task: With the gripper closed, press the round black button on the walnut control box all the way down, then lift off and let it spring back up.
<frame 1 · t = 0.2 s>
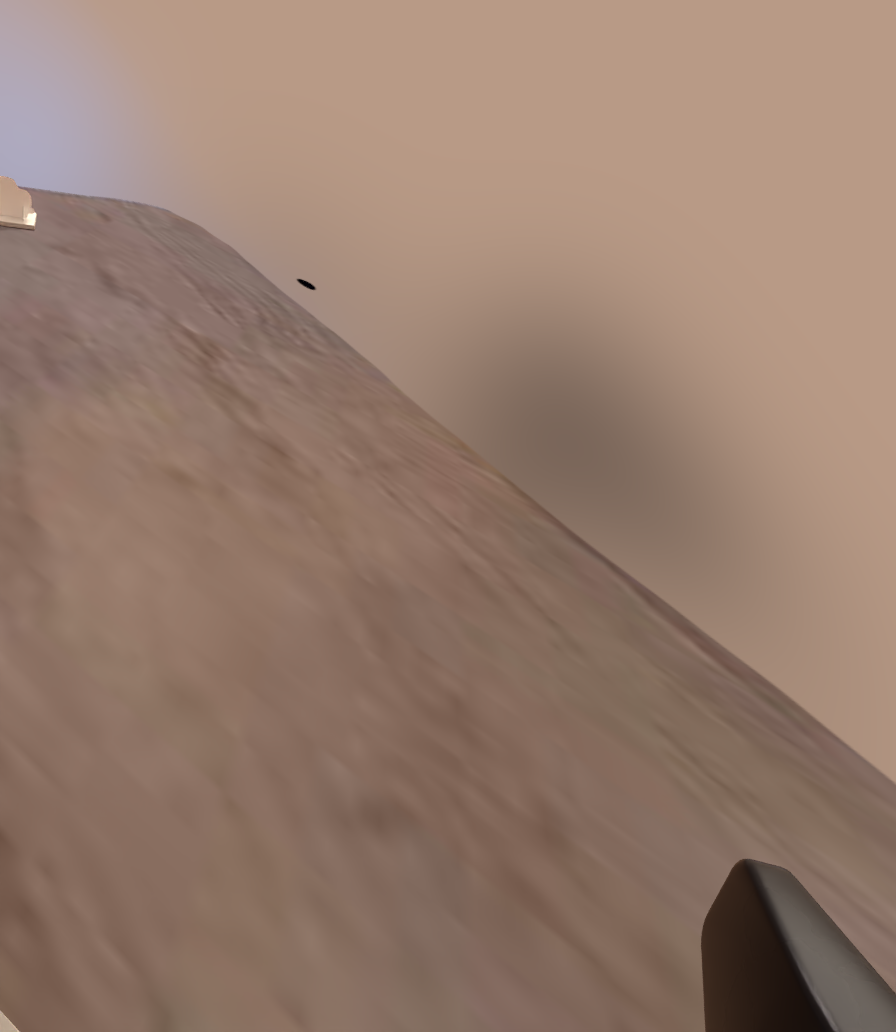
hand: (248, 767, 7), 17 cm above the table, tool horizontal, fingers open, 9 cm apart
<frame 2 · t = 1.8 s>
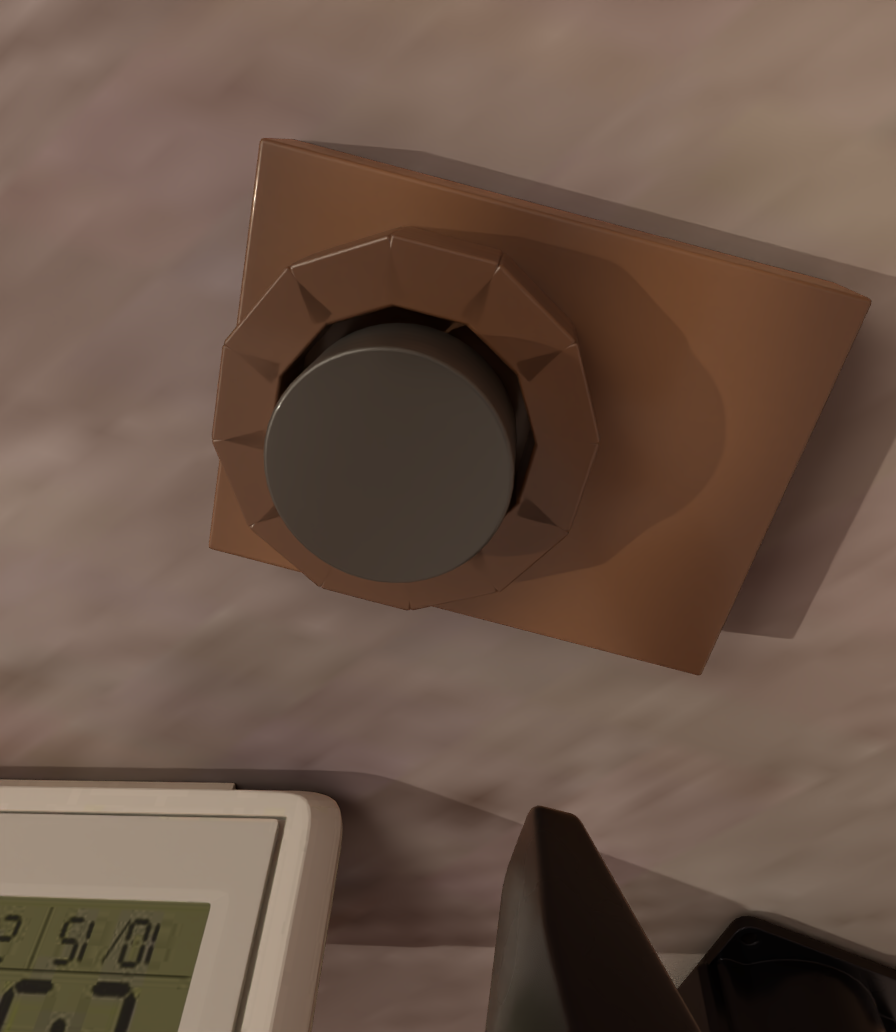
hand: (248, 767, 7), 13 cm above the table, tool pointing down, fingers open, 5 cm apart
digital clock: (119, 827, 26), on the table
button box: (508, 408, 19), on the table
button: (395, 453, 15), point 5 cm above the table, slide at 0.1 cm
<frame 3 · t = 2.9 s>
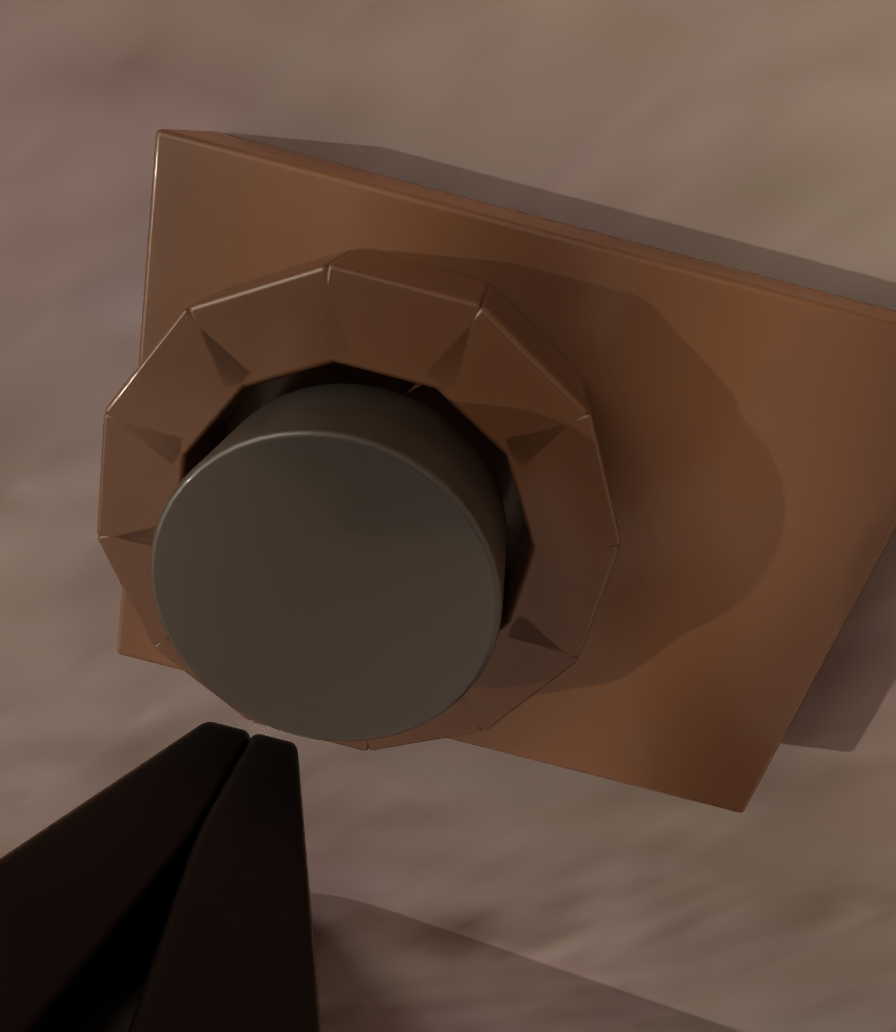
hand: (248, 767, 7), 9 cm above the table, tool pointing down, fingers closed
button box: (498, 473, 15), on the table
button: (340, 562, 11), point 5 cm above the table, slide at 0.1 cm
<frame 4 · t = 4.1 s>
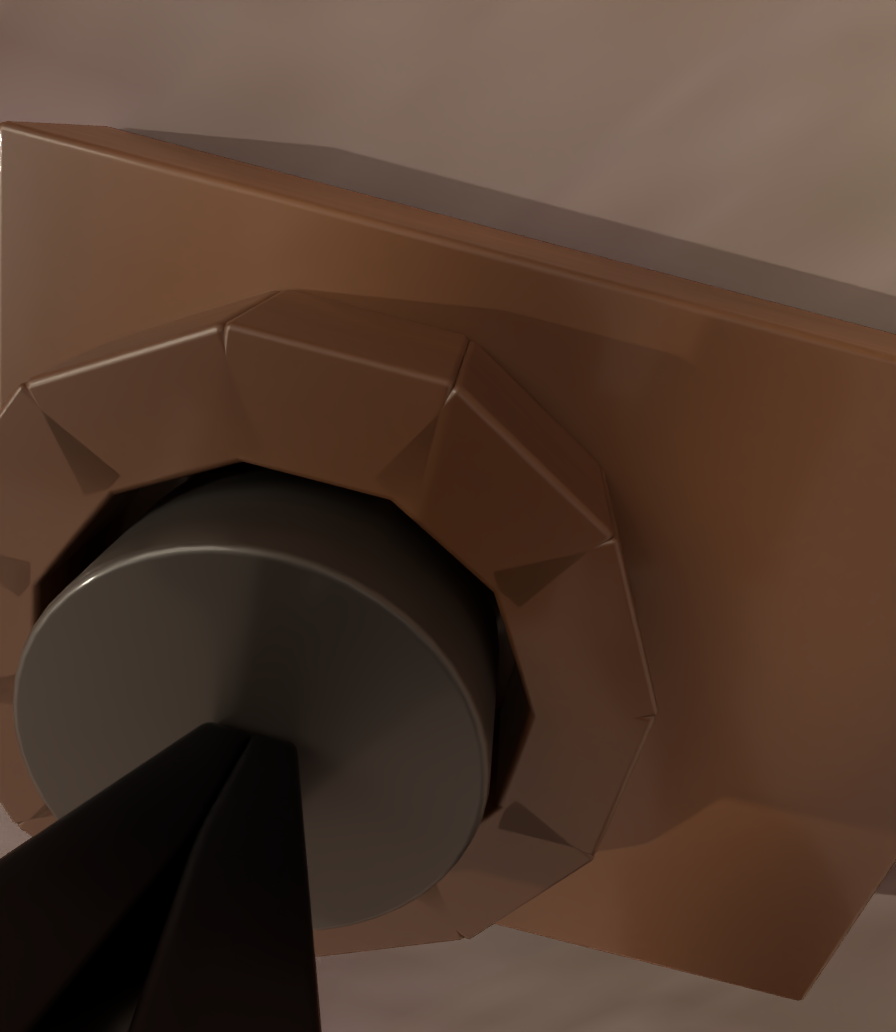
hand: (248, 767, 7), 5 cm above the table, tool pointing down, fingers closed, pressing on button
button box: (488, 565, 12), on the table
button: (278, 694, 8), point 4 cm above the table, slide at -0.7 cm, touching gripper
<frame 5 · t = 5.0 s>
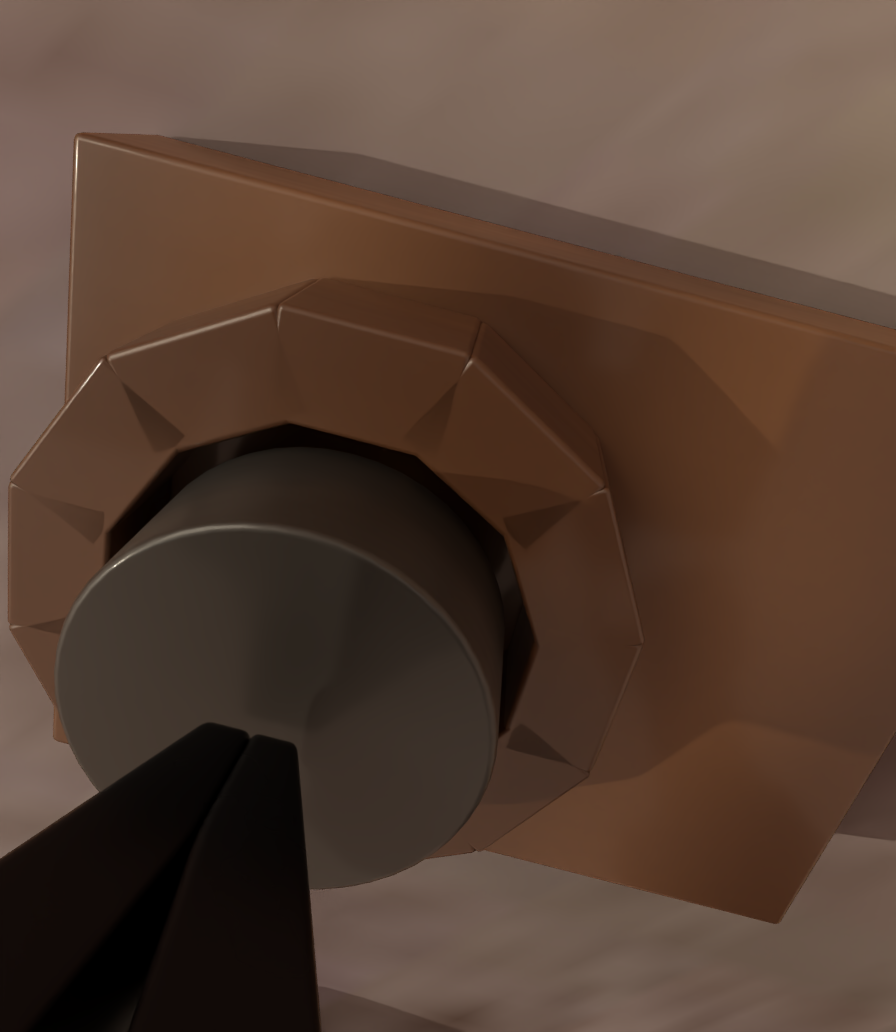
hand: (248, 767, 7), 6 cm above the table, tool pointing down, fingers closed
button box: (495, 530, 13), on the table
button: (298, 667, 9), point 5 cm above the table, slide at 0.1 cm
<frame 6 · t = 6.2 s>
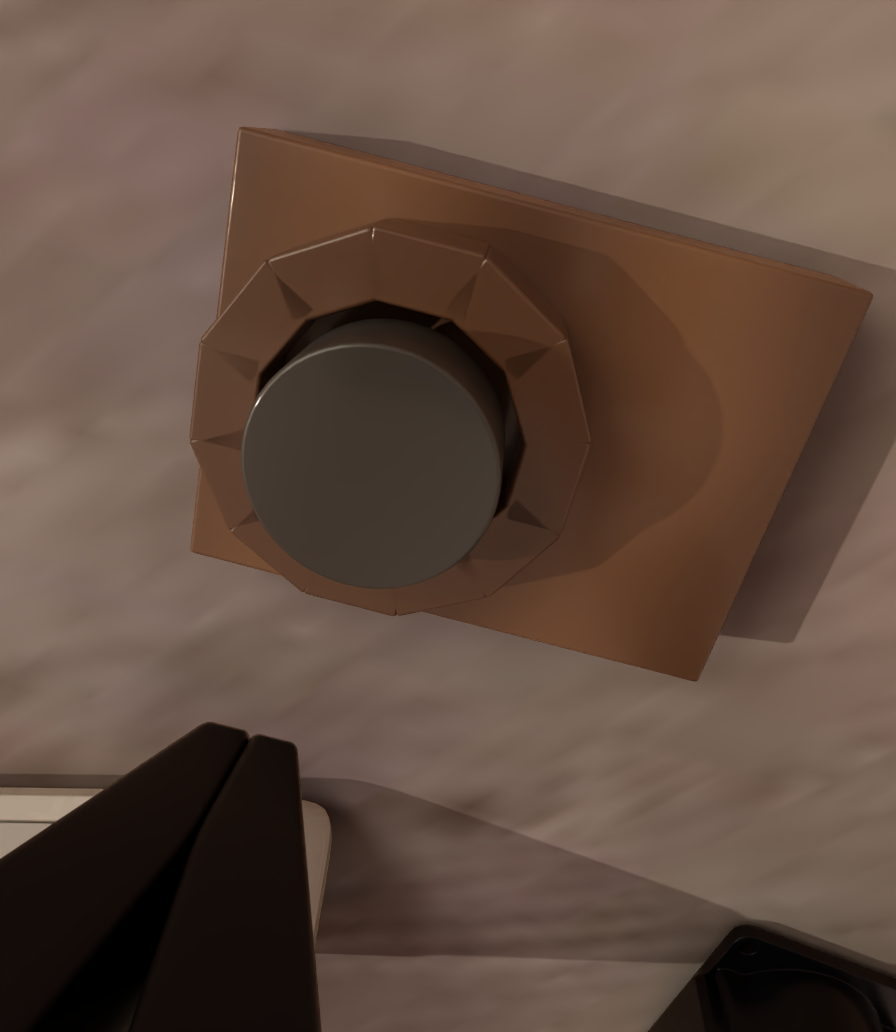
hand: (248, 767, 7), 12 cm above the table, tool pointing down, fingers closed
digital clock: (105, 835, 26), on the table
button box: (498, 406, 19), on the table
button: (379, 453, 14), point 5 cm above the table, slide at 0.1 cm
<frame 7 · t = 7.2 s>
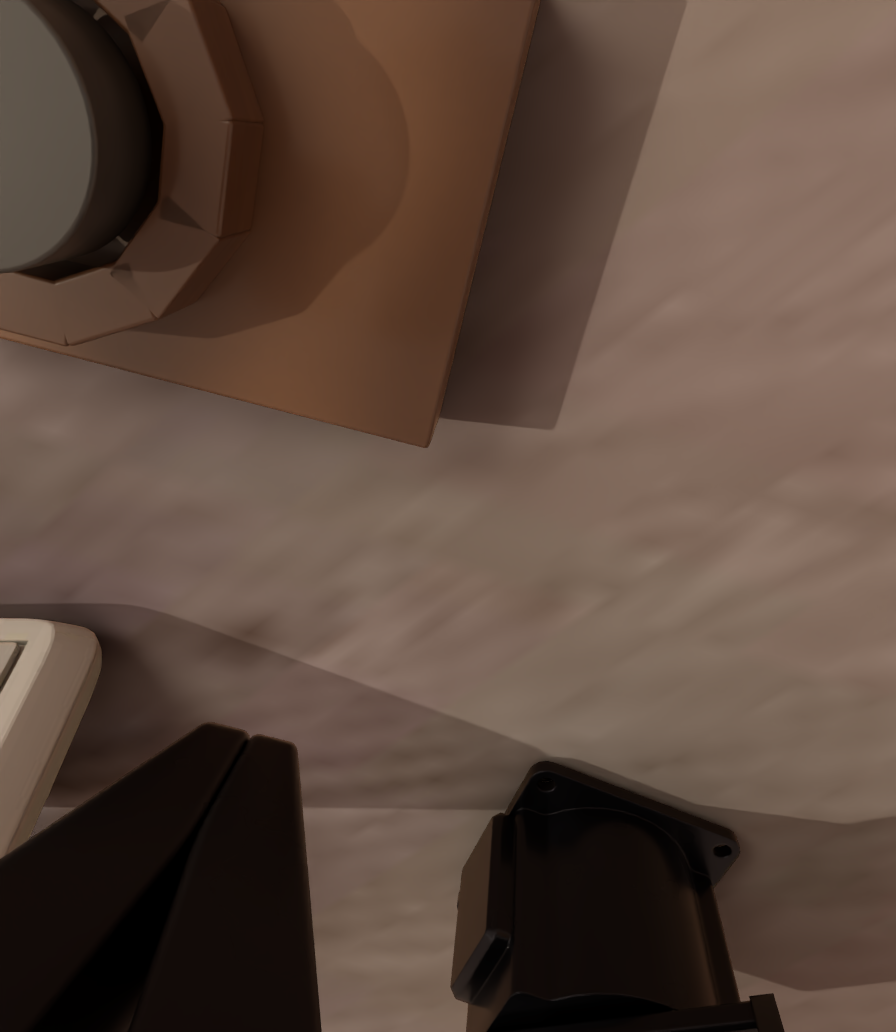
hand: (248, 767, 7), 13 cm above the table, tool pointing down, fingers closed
button box: (216, 155, 17), on the table
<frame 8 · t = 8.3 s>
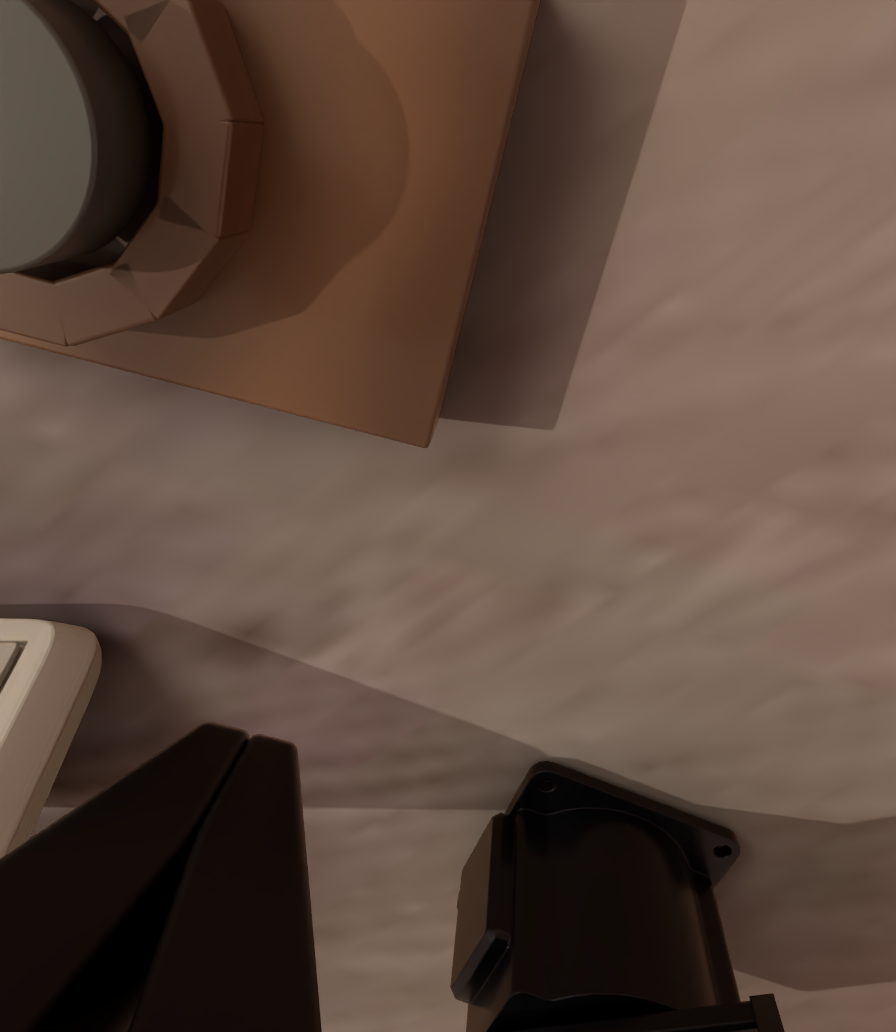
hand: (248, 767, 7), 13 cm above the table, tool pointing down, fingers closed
button box: (215, 155, 17), on the table
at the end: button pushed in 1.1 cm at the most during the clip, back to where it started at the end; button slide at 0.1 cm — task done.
